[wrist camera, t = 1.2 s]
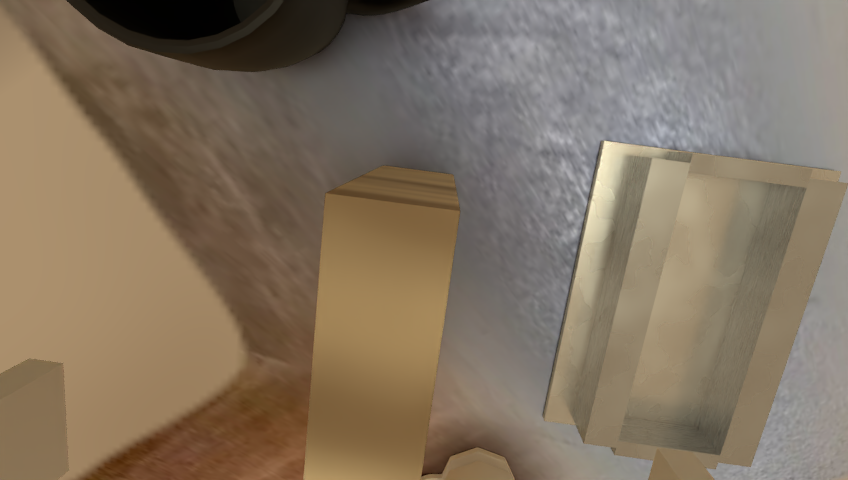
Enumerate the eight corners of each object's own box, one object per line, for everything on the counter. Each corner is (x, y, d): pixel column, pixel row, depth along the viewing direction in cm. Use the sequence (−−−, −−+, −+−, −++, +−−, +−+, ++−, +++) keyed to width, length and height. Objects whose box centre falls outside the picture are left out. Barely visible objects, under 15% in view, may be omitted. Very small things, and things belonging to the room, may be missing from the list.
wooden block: (383, 165, 22) (325, 193, 12) (453, 174, 22) (460, 211, 12) (364, 349, 25) (300, 513, 14) (427, 358, 25) (413, 530, 14)
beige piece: (601, 140, 22) (622, 141, 19) (833, 170, 21) (886, 175, 19) (542, 416, 25) (553, 448, 22) (742, 444, 25) (776, 479, 22)
